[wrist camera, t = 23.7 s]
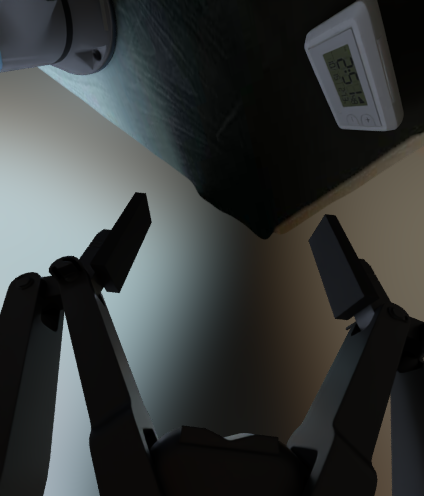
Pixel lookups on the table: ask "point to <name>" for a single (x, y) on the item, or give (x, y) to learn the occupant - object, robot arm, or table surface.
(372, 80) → the digital clock
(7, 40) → the robot arm
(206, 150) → the table surface
